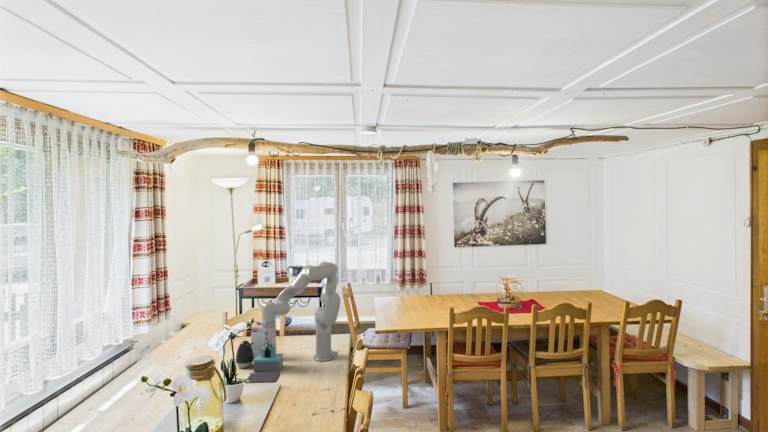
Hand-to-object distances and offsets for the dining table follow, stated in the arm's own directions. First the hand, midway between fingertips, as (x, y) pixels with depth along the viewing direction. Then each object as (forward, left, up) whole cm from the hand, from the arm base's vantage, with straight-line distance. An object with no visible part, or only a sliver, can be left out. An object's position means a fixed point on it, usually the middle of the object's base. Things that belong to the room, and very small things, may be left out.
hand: (268, 355), depth 220 cm
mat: (0, +13, -8) cm, 15 cm away
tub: (0, 0, -8) cm, 8 cm away
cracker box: (+7, -16, -8) cm, 19 cm away
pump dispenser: (+15, -5, -8) cm, 18 cm away
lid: (0, 0, -2) cm, 2 cm away
